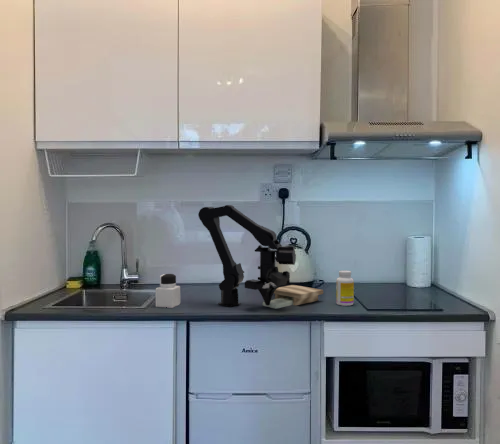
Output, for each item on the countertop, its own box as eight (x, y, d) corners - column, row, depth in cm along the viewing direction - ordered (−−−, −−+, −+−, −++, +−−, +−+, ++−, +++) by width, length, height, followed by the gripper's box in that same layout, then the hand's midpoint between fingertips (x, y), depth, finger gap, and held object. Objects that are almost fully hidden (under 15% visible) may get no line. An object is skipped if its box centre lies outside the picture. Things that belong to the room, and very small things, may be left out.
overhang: (300, 306, 183) (300, 294, 183) (270, 300, 195) (270, 288, 194) (323, 301, 192) (323, 289, 192) (292, 295, 204) (293, 284, 204)
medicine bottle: (180, 304, 187) (180, 273, 187) (172, 308, 180) (172, 276, 180) (163, 303, 189) (163, 272, 189) (155, 306, 182) (155, 275, 182)
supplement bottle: (357, 305, 186) (357, 271, 185) (344, 306, 182) (344, 273, 182) (345, 301, 192) (346, 269, 191) (332, 303, 188) (332, 270, 188)
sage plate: (275, 309, 180) (275, 304, 180) (262, 306, 185) (262, 301, 185) (300, 303, 189) (300, 299, 189) (287, 300, 194) (287, 296, 194)
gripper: (264, 268, 169) (264, 312, 170) (300, 263, 182) (300, 304, 182) (243, 265, 177) (243, 307, 178) (279, 261, 190) (278, 300, 190)
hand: (267, 305), depth 182 cm, fingers closed
